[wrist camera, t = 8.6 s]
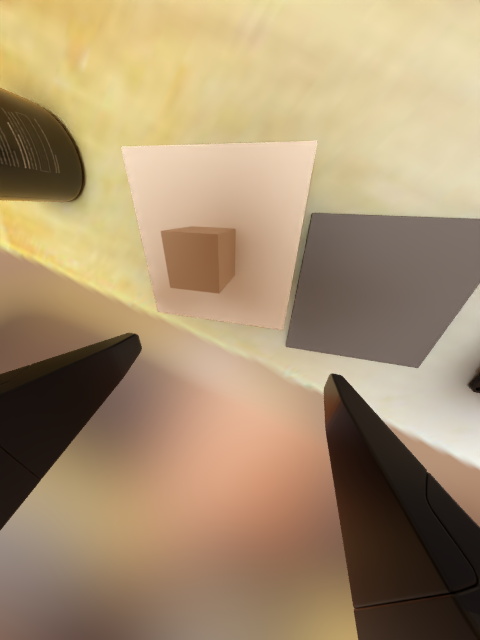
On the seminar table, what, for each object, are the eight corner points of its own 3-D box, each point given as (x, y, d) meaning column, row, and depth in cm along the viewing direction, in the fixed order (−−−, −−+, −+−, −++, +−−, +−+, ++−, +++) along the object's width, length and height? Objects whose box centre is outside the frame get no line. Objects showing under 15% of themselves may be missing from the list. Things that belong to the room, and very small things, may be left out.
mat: (516, 220, 12) (524, 220, 12) (415, 364, 19) (418, 368, 18) (312, 213, 14) (312, 213, 14) (285, 344, 21) (285, 346, 21)
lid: (315, 146, 10) (332, 105, 6) (283, 323, 15) (282, 360, 12) (132, 151, 12) (57, 121, 8) (164, 307, 17) (129, 333, 13)
